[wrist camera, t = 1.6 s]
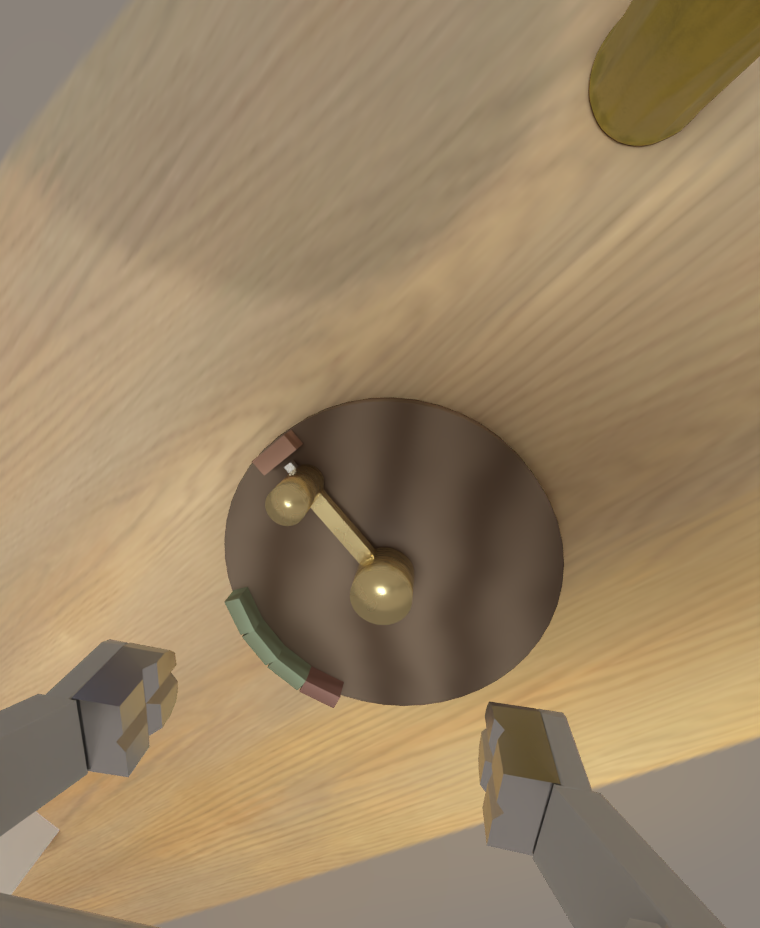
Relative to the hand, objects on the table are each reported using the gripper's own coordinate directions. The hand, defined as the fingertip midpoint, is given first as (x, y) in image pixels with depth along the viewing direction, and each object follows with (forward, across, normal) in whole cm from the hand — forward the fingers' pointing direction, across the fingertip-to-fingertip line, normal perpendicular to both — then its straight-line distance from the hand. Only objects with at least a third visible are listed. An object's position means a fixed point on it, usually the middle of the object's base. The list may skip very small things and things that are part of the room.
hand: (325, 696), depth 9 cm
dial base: (+21, 0, +8) cm, 23 cm away
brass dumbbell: (+19, +3, +6) cm, 20 cm away
